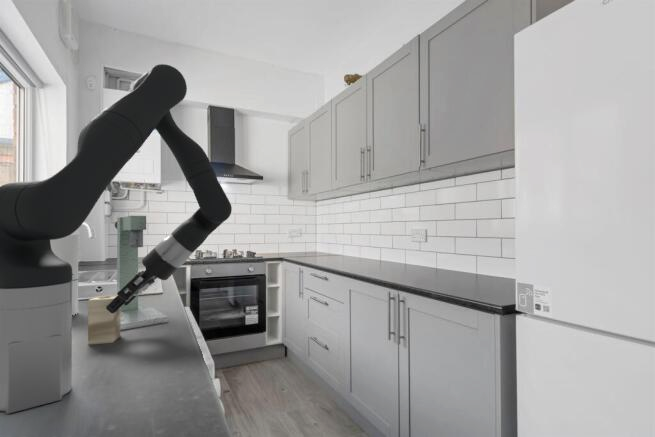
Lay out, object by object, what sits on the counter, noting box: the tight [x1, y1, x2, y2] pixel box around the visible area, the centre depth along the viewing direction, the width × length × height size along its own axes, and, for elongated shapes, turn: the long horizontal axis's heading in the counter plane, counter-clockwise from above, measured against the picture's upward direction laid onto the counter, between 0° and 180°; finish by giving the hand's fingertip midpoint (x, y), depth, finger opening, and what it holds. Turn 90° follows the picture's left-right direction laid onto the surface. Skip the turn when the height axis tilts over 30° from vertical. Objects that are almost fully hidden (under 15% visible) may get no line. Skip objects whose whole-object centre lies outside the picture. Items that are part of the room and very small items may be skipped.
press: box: [114, 215, 169, 331], centre depth 106 cm, size 33×12×30 cm, turn 41°
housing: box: [87, 294, 121, 346], centre depth 82 cm, size 5×5×10 cm
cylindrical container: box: [50, 234, 79, 316], centre depth 109 cm, size 7×7×25 cm
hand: (116, 306), depth 82 cm, fingers open, 8 cm apart
